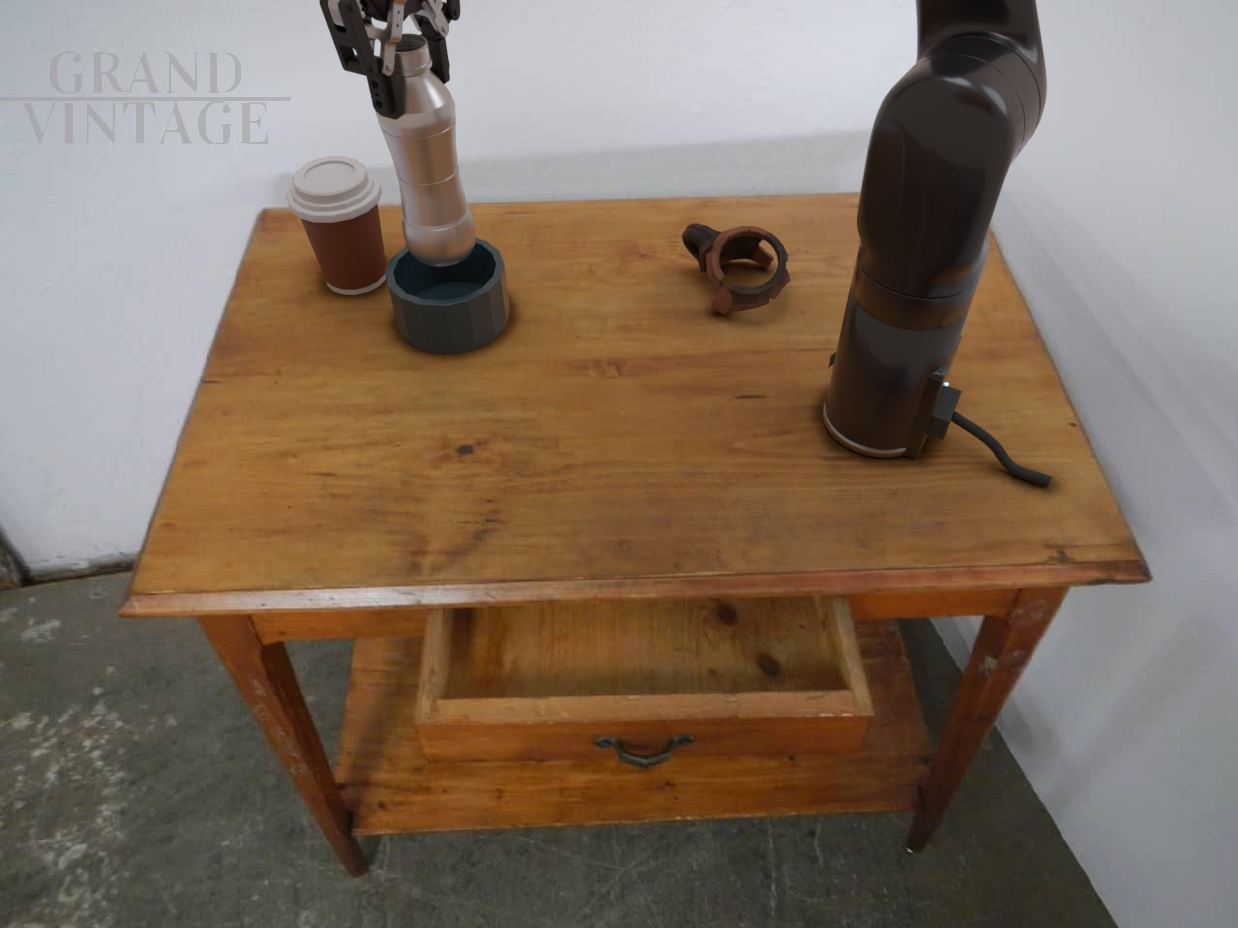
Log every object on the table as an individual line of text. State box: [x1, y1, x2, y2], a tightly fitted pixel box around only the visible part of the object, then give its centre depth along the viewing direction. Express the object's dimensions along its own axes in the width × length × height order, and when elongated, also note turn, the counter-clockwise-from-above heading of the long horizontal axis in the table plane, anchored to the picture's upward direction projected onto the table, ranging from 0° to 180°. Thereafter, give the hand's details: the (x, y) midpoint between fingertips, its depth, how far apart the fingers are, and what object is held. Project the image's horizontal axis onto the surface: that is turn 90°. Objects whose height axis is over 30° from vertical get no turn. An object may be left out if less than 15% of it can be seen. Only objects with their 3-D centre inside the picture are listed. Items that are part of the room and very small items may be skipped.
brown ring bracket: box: [681, 222, 792, 315], centre depth 95 cm, size 12×10×8 cm
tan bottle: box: [374, 32, 477, 267], centre depth 81 cm, size 6×7×20 cm
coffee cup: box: [285, 155, 388, 296], centre depth 94 cm, size 9×9×12 cm
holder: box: [385, 237, 511, 355], centre depth 92 cm, size 11×11×6 cm
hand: (414, 97), depth 77 cm, fingers closed on tan bottle, 6 cm apart
